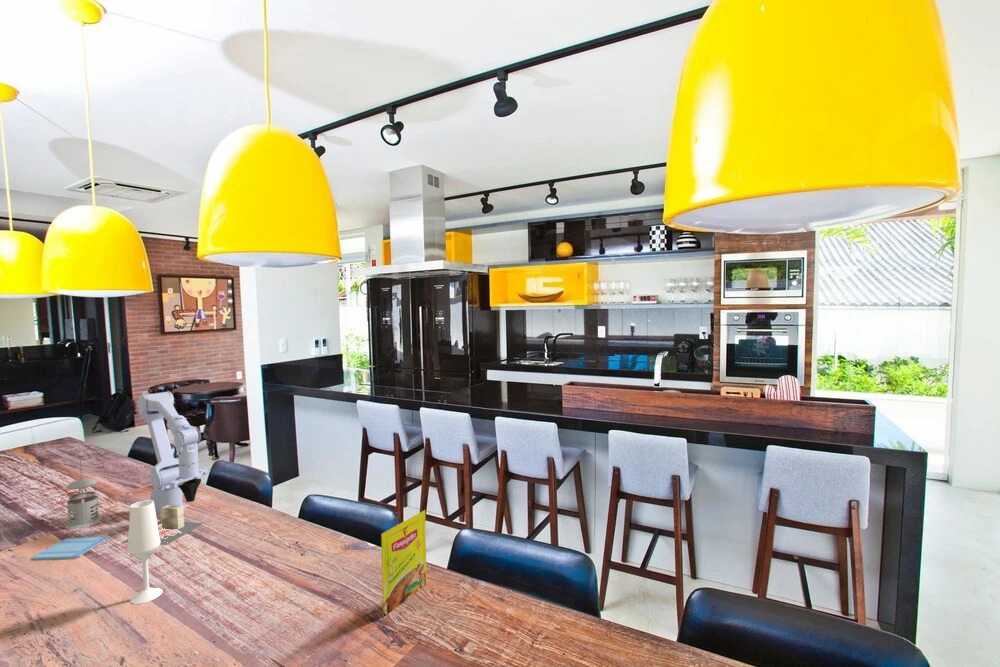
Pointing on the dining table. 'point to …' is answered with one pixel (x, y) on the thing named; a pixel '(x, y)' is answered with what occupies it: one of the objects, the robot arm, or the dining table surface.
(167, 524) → the beige and teal block
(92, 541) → the folded blue cloth
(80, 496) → the french press
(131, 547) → the champagne flute
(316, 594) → the dining table surface
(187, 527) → the mat
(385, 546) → the food package
